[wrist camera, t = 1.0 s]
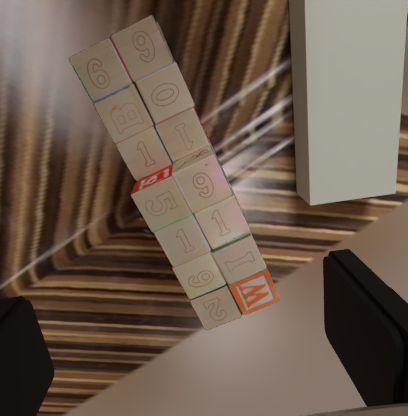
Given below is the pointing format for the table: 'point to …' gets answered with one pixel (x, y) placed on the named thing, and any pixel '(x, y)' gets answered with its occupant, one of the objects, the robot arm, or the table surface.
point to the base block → (346, 96)
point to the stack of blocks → (176, 172)
